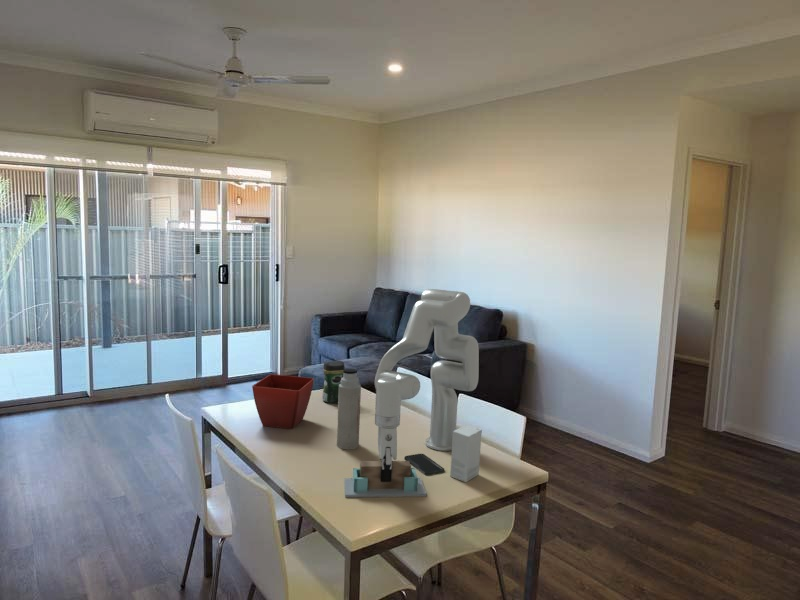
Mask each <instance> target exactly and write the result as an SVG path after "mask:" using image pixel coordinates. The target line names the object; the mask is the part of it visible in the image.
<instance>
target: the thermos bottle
mask: <svg viewBox="0 0 800 600" xmlns="http://www.w3.org/2000/svg"><path fill="white" fill-rule="evenodd" d="M343 372H344V374H343V378H341V381H340V382H341V384H339V393H338V402H337V429H336V431H337V432H336V446H337V448H339V449H344V450H353V449H357V448H359V445H360V444H359V443H360V422H361V421H360V419H361V399H362V398H361V397H362V395H361V394H362V393H361V392H362V385H361V384H360V379H359V378H360V377H358V373H357V372H358V370H357V369H355V368H345V369H344V370H343Z"/></svg>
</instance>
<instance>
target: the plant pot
mask: <svg viewBox="0 0 800 600" xmlns="http://www.w3.org/2000/svg"><path fill="white" fill-rule="evenodd" d="M314 380H315V379H314V378H313V377H306V376H295V375H294V376H293V375H284V374H283V375H282V374H275V373H274V374H273V373H272V374H268V375H267V376H266V377H263V378H262V379H260V380H259V381H257V382H256V383H255V384H253V385H251V388H252V395H253V400H254V403H255V407H256V411H257V414H258V417H259V420H260V423H261V425H262V426H263V427H270V428H281V429H289V430H292V429H294V428H295V427H297V426H298V424H300V422H301V421H303V419H304V417H305V415H306V412H307V410H308V406H309V403H310V399H311V397H312V396H311V395H312V390H313V386H314Z"/></svg>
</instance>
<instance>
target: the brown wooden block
mask: <svg viewBox="0 0 800 600" xmlns="http://www.w3.org/2000/svg"><path fill="white" fill-rule="evenodd" d="M359 462H360V463H359V468H360V477H368V485H367V489H400V488H404V477H410V476H411V468H412V465H411V464H410V462H409V461H406V460H392V477H391V482H381V468H382V460H360V461H359ZM384 463H386V461H384Z"/></svg>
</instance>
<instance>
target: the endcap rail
mask: <svg viewBox="0 0 800 600" xmlns="http://www.w3.org/2000/svg"><path fill="white" fill-rule="evenodd" d="M343 482H344V483H343V485H344V497H345V498H386V497H387V498H390V497H391V498H392V497H396V498H397V497H398V498H399V497H404V498H406V497H427V491H426V489H425V486H424V483H423V480H422V478H421V477H418V475H417V471H416V468H415V467H411V476H410V477H404V488H400V489H367V485H368V477H360V467H358V468H357V467H356V468H355V467H354V468H352V478H350V477H348V478H347V477H346V478H344V479H343Z"/></svg>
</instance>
